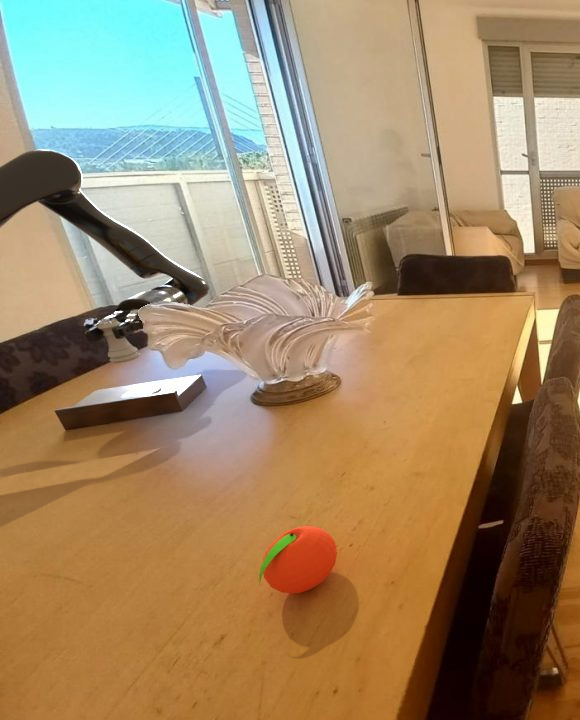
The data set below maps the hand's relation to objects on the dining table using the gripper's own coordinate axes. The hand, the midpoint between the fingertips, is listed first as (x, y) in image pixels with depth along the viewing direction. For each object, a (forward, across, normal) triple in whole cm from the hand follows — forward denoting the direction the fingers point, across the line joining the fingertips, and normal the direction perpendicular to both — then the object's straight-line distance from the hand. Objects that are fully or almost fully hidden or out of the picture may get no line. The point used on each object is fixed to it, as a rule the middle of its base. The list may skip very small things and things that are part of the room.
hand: (103, 335), depth 88 cm
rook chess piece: (-3, 0, +6) cm, 7 cm away
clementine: (+63, +41, +16) cm, 77 cm away
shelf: (-2, -1, +16) cm, 16 cm away
